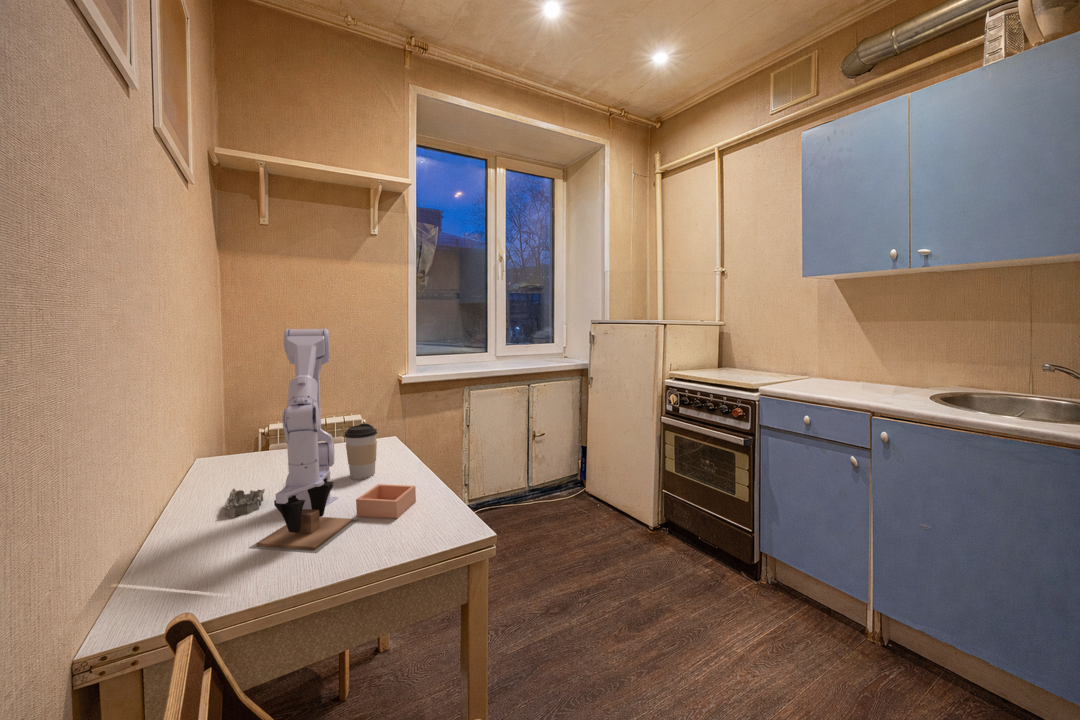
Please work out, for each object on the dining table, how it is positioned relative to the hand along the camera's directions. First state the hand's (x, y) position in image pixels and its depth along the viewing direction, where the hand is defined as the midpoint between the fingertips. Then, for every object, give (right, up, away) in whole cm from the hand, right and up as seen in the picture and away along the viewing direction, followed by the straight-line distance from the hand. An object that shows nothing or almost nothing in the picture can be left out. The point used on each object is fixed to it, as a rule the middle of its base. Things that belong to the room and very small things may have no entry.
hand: (306, 523), depth 95 cm
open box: (+13, -1, +12) cm, 18 cm away
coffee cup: (-3, 0, +38) cm, 38 cm away
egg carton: (-23, -2, +15) cm, 28 cm away
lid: (0, -2, 0) cm, 2 cm away
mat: (0, -3, 0) cm, 3 cm away
